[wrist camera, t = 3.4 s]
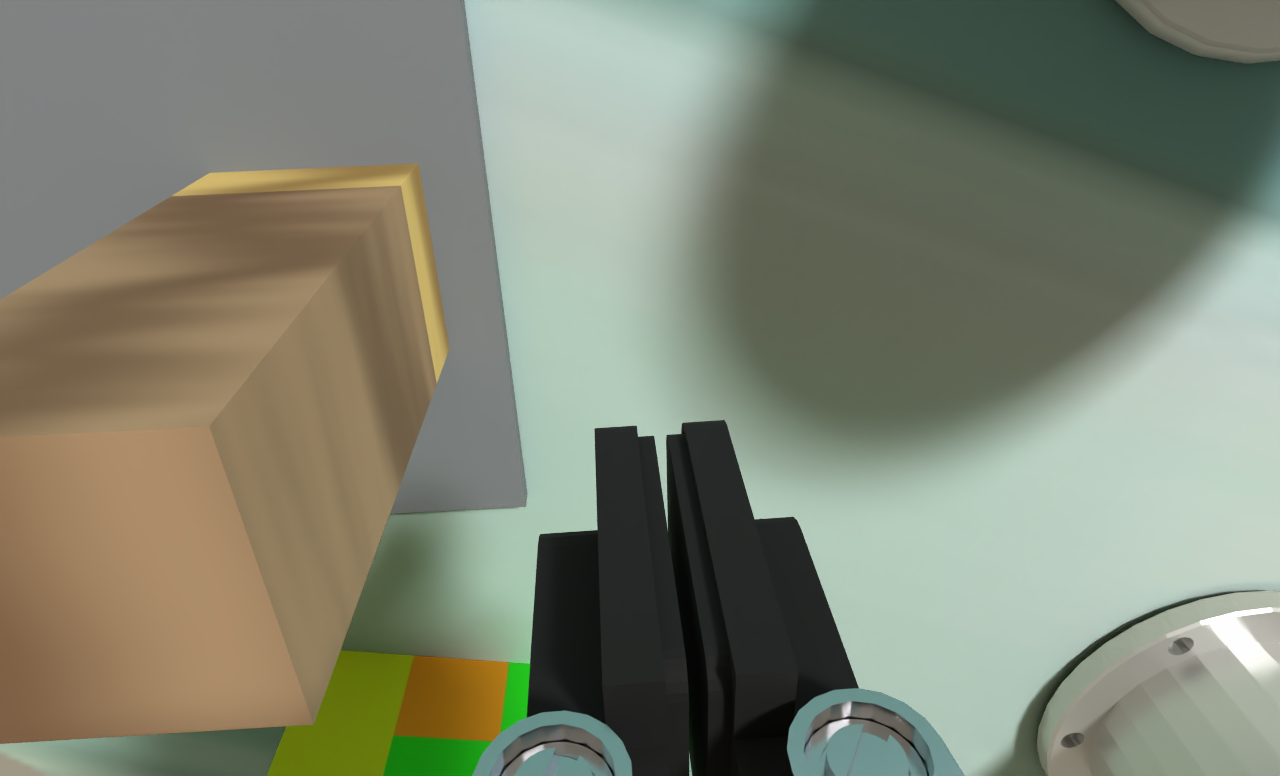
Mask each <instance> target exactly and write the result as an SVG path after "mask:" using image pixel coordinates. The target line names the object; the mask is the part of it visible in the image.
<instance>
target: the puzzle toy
mask: <svg viewBox="0 0 1280 776" xmlns="http://www.w3.org/2000/svg"><path fill="white" fill-rule="evenodd" d="M529 674H530V664H524V663H510V662H497V661H483V660H470V659H456V658H442V657H429V656H415V655H401V654H388V653H374V652H360V651H347V650H341V651H340V653H339V656H338V659H337V662H336V664H335V667H334V670H333V673H332V675H331V678H330V681H329V684H328V687H327V689H326V692H325V695H324V698H323V700H322V703H321V706H320V709H319V711H318V714H317V717H316V720H315V723H314V725H297V726H286V727H285V730H284V732H283V735H282V737H281V740H280V742H279V745H278V747H277V750H276V752H275V755H274V757H273V760H272V762H271V765H270V768H269V770H268V773H267V775H266V776H472V775H473V773H474V771H475V769H476V766H477V764H478V762H479V760H480V758H481V755H482V753H483V752H484V751H485V750H486V749H487V747H488V746H489V745H490V744H491V743H492V742H493V740H494V739H495V738H496V737H497V736H498V735H499V734H500V733H502V732H503V731H504V730H506V729H507V728H509V727H510V726H512V725H513V724H515V723H516V722H518V721H519V720H522V719H525V718H527V704H528V689H529Z"/></svg>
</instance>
